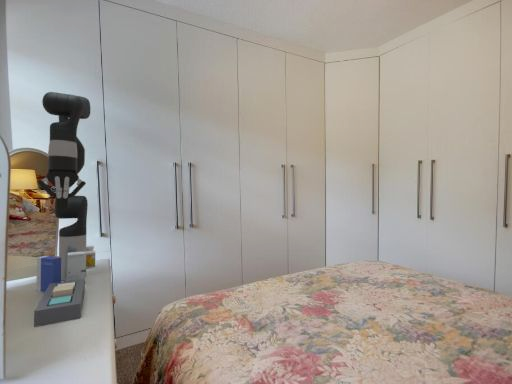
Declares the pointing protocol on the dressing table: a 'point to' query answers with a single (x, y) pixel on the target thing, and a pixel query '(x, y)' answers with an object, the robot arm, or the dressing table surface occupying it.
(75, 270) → the skincare box
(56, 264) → the walkman
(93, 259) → the supplement bottle
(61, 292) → the sand key
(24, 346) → the dressing table surface
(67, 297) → the teal key
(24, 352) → the dressing table surface
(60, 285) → the grey key
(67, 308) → the grey board with slots
